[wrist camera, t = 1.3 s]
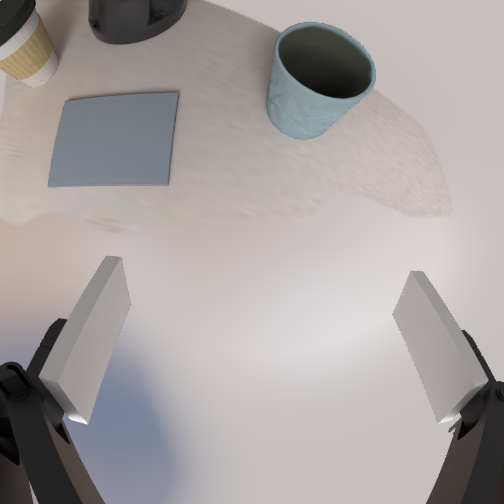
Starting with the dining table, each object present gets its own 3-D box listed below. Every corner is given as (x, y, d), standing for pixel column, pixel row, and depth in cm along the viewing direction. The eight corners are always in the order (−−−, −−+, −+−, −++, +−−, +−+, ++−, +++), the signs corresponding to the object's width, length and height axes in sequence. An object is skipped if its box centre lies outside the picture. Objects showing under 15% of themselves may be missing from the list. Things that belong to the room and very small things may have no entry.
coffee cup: (61, 36, 32) (26, -21, 17) (76, 69, 32) (34, 6, 17) (12, 73, 31) (-33, 26, 16) (23, 110, 31) (-33, 62, 16)
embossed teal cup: (339, 147, 36) (385, 107, 24) (260, 144, 35) (280, 95, 23) (328, 81, 36) (364, 30, 25) (255, 75, 35) (271, 15, 23)
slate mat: (66, 103, 32) (65, 101, 32) (178, 95, 34) (178, 92, 33) (49, 187, 32) (47, 186, 31) (168, 185, 34) (167, 184, 33)
